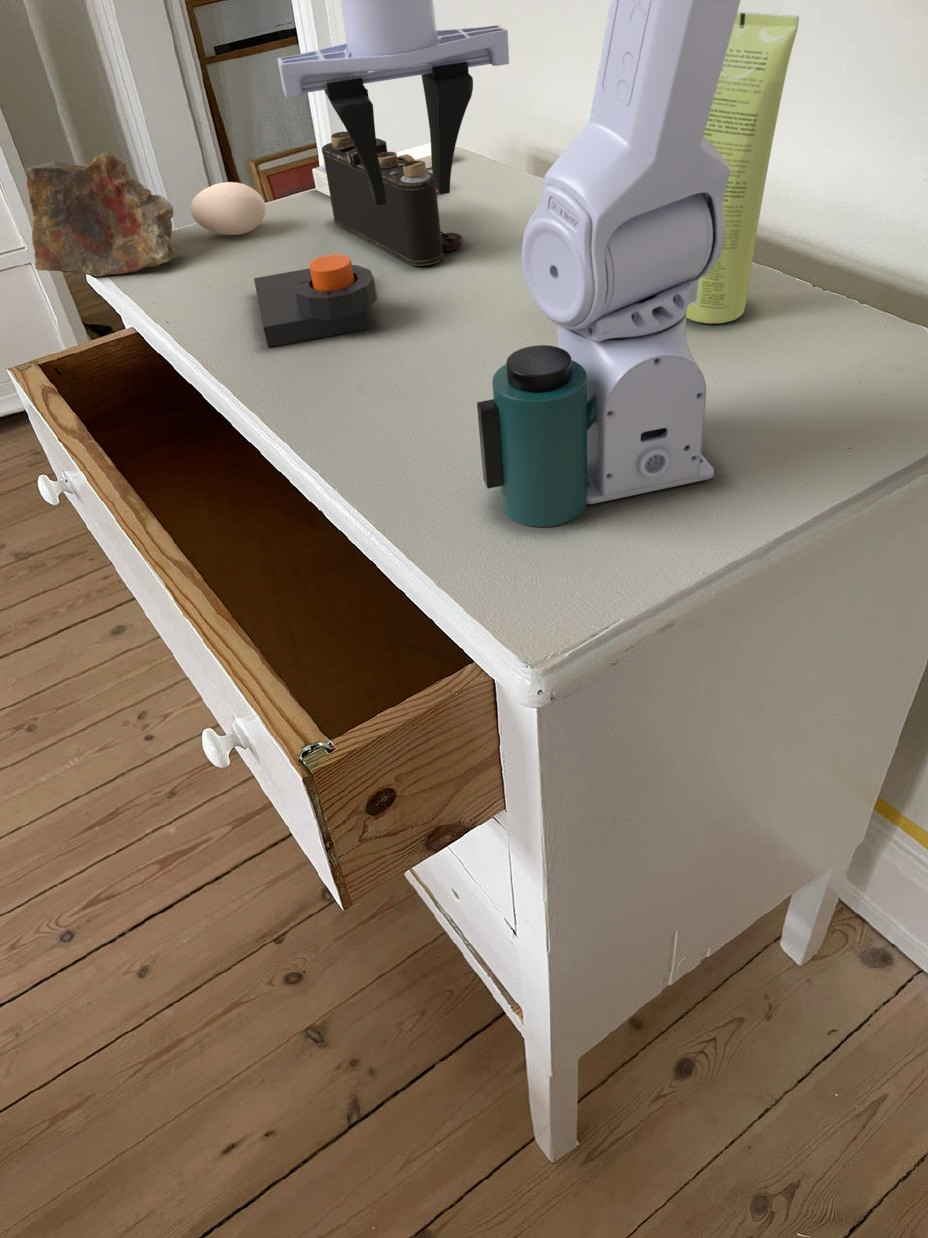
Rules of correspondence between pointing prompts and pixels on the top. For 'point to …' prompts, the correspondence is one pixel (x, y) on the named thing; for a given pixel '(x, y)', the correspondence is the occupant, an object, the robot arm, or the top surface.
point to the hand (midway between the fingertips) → (410, 194)
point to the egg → (228, 208)
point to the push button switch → (312, 306)
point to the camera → (387, 202)
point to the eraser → (419, 154)
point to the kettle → (538, 436)
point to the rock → (97, 219)
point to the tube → (743, 152)
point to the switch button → (331, 272)
